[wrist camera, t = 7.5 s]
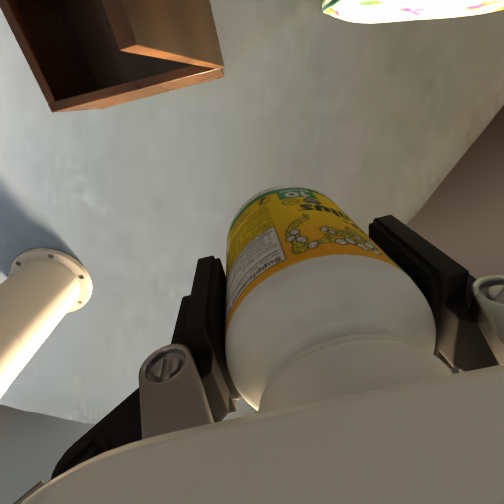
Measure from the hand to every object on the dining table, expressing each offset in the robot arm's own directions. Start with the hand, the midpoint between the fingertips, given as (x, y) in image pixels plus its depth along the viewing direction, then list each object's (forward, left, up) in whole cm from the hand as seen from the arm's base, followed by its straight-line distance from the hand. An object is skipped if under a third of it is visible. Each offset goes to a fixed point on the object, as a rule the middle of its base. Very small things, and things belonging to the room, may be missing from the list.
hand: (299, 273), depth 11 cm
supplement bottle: (0, 0, -3) cm, 3 cm away
